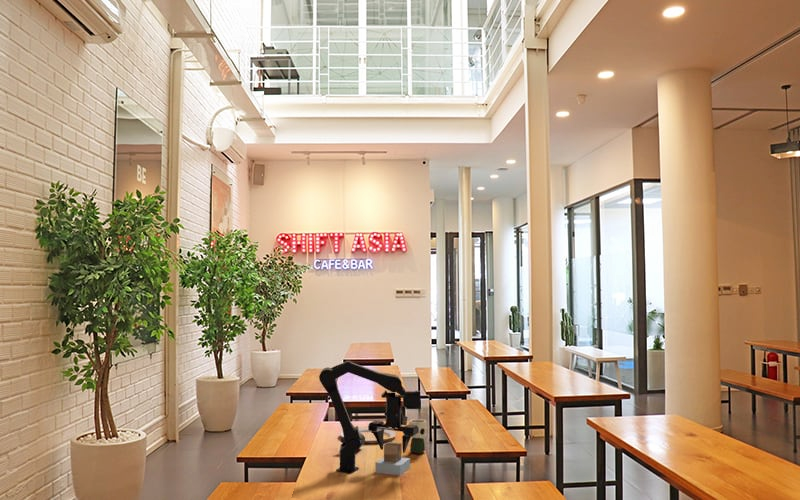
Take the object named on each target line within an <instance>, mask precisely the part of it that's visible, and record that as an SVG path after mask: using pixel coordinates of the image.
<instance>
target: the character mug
mask: <svg viewBox="0 0 800 500" xmlns="http://www.w3.org/2000/svg"><path fill="white" fill-rule="evenodd" d="M408 422H409V424H410V425H417V426H418V428H419V433H417V434H415V435H414V436H412V437H411V438H410V440H411V441H410V446H409V447H410V449H409V451H410V452H411V453H415V454H424V453H425V452H426V447H425V440H424V439H425V438H426V437H427V420H425V419H419V418H414V419H410V420H409V421H408ZM409 424H408V425H409Z"/></svg>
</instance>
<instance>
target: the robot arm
mask: <svg viewBox="0 0 800 500" xmlns="http://www.w3.org/2000/svg"><path fill="white" fill-rule="evenodd" d="M319 373H320V374H319V376H318V378H319V382H320V384H322V387H323V388H324V390H325V391H326V392H327V394H328V395H329V397H330V401H331V403H332V405H333V408H334V411H335V413H336V415H337V419H338V422H339V423H340V427H341V428H342V431H343V435H344V440H345V441H344V442H343V443H341V444H340V447H339V467H338V468H336V469H335V471H336V472H340V473H346V474H352V473H355V471H358V470H359V468H360V467H357V466H356V452H357V451H358V450H359V449H360V448H361V447H360V446H361V440H362V435H361V434H360V433H361V432H359V428H358V427H359V426H358V425H356V426H354V425H353V423H352V421H351V418H350V416H349V413H348V411H347V408H346V406H345V403H344V401H343V398H342V395H341V393H340V390H339V386H338V380H337V379H338V378H341V377H342V376H344V375H346V374H348V373H349V374H352V375H354V376H358V377H360V378H363V379H365V380H369V381H370V382H374V383H377V385H379V386H381V387H382V388H384V389H385V390H384V391H383V392H382V393H381V395H380V396H381V398H382V399H383V398H385V402H386V403H385V412H384V415H383V416H385V423H384V421H382V420H373V421H371V422H369V423H368V426H367V427H368V430H369V431H371V432H370V433H371V434H373V436H374V438H375V440H377V443H378V446H379V448H380V451H381V450H383V451H384V441H383V439H384V434H383V433H384V429H386V430H393V431H395V432H402V433H403V435H402V436H401V438H402V439H401V440H402V441H401V443H402V453H403V454H404V453H406V452H407V448H408V445H409V443H410V440H411V439H412V438H413V437H412V436H414V435H415V434H417V433H419V428H418V426H417V425H410V424H407V423H408V416H406V415H404V414H403V411H402V407H404V408H405V410H421V409H422V400H421V391H420V390H411V391H410V390H406V388H404V386H403V383H402V380H401V378H400V376H399V375H396V374H392V373H385V372H380V371H376V370H373V369H371V368H369V367H365V366H362V365H360V364H359V363H358V364H357V363H355V362H353V361H351V360H345V361H344V362H342V363H340V364H337V365H335V366H332V367H325V368H323V369H322V370H321V371H320V372H319ZM388 391H389V392H388ZM396 393H397V394H396Z"/></svg>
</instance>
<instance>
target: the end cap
mask: <svg viewBox="0 0 800 500" xmlns="http://www.w3.org/2000/svg"><path fill="white" fill-rule="evenodd" d="M360 434H361V435H362V440H361V446H360V448H362V447H363V446H364V445H365V444H366V443H365V441H366V436H365V435H364V434H363V432H360ZM344 441H345V440H344V437H342V436H341V438H340V443H341V444H342V443H343V442H344Z"/></svg>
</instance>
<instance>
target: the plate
mask: <svg viewBox="0 0 800 500" xmlns="http://www.w3.org/2000/svg"><path fill="white" fill-rule="evenodd" d="M358 428H359V432H360V433H371V431H369V430H368V426H358ZM396 432H397V431H394V430H386V429H384V433H383V435H386V436H388V438H383V442H386V441H388V440H390V439H392V438H394V437H396V435H397V433H396ZM339 436H340V437H341V438H342V437H344V435H343V430H341V431H340V432H339ZM377 443H378V442H377V439H373V440H371V439H370V440H365V443H364V444H377Z"/></svg>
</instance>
